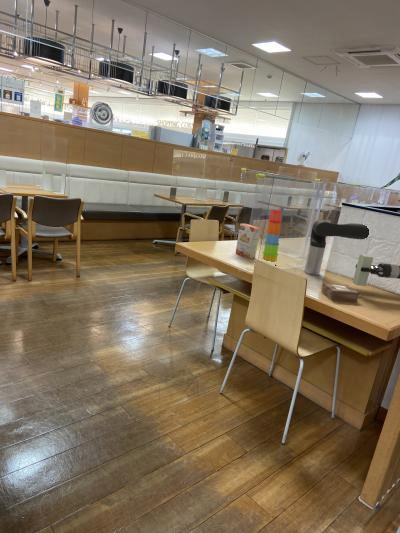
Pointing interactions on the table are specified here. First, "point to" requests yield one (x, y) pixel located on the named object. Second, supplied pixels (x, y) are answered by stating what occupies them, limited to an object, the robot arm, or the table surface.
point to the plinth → (340, 292)
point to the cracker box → (247, 240)
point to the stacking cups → (272, 236)
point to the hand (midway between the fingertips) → (358, 267)
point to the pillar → (360, 276)
